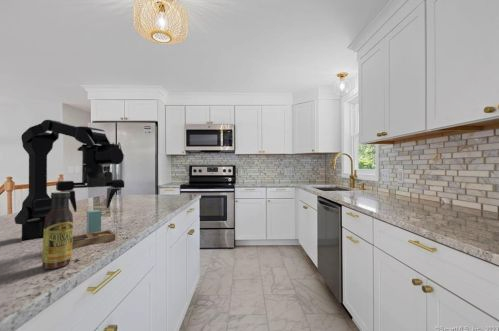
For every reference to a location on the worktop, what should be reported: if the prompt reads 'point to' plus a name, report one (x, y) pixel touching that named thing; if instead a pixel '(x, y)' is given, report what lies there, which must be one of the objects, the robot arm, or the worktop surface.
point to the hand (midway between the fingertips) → (92, 209)
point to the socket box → (92, 238)
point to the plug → (93, 221)
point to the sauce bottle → (58, 233)
